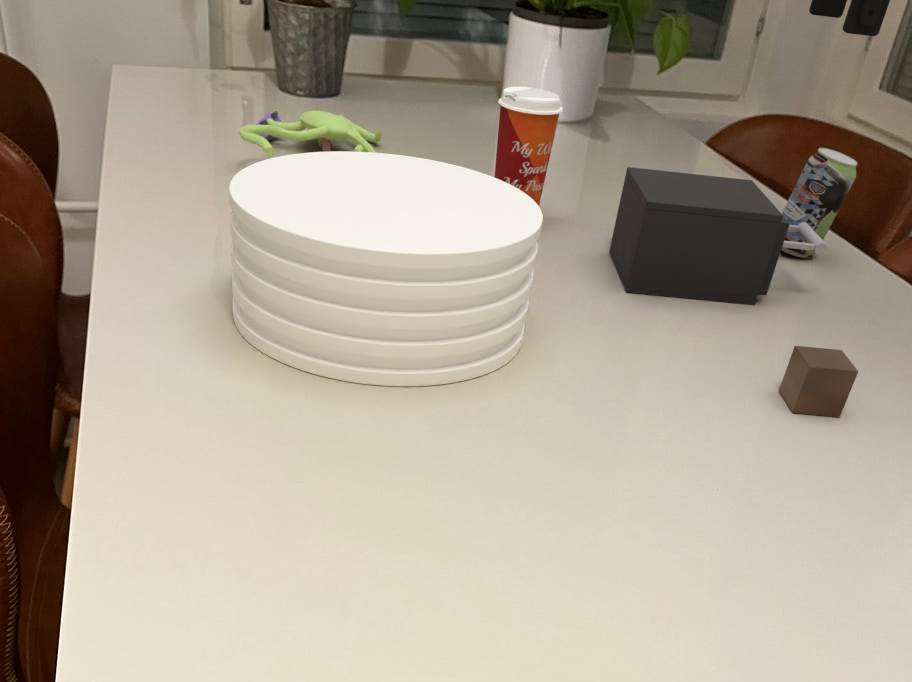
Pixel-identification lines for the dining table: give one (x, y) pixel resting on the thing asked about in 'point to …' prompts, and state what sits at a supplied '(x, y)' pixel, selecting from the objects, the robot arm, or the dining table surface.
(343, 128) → the figurine
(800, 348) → the block
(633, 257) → the dark grey box
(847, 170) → the beverage can
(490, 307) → the plate stack
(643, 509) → the dining table surface
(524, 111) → the paper cup
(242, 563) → the dining table surface
